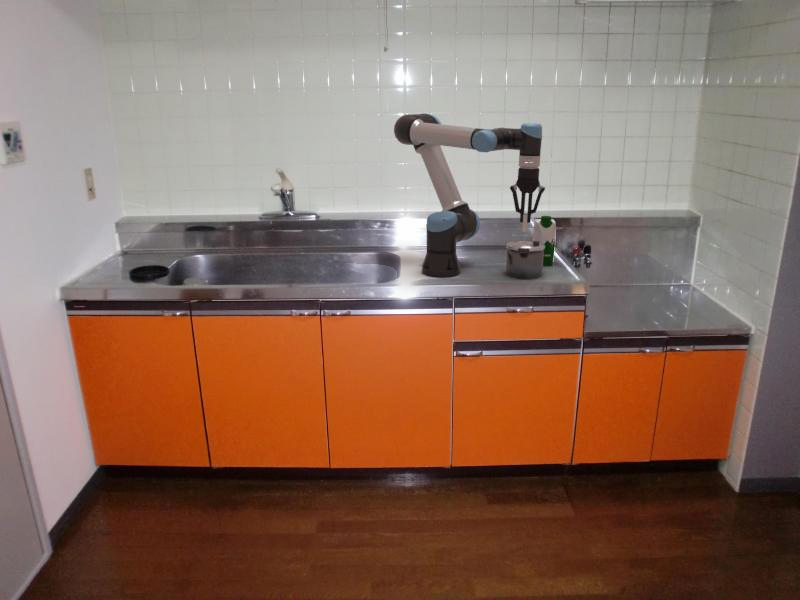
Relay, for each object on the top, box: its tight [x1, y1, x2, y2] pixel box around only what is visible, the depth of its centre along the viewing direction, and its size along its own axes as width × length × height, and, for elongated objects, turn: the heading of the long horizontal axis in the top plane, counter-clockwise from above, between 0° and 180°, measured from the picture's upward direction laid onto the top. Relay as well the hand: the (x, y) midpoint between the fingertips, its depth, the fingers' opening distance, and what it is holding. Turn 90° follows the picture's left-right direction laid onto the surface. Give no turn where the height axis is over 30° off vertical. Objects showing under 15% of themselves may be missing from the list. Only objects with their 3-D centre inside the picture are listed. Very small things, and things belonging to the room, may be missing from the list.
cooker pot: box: [505, 248, 544, 280], centre depth 240 cm, size 14×15×10 cm
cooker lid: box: [505, 240, 545, 252], centre depth 236 cm, size 15×16×3 cm
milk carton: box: [532, 215, 557, 266], centre depth 253 cm, size 9×9×20 cm
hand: (524, 231), depth 232 cm, fingers closed
